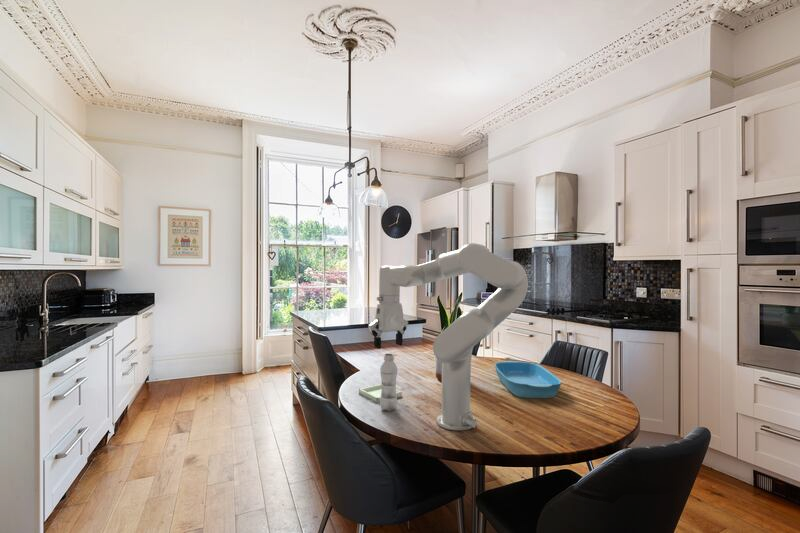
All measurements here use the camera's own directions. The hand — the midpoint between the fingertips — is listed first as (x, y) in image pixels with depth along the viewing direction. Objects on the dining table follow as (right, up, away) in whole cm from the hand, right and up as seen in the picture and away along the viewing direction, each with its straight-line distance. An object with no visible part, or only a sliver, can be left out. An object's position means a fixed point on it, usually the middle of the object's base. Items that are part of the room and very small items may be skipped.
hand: (388, 346), depth 138 cm
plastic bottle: (0, -23, 0) cm, 23 cm away
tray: (-4, -23, +15) cm, 28 cm away
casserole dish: (+59, -24, +27) cm, 69 cm away
